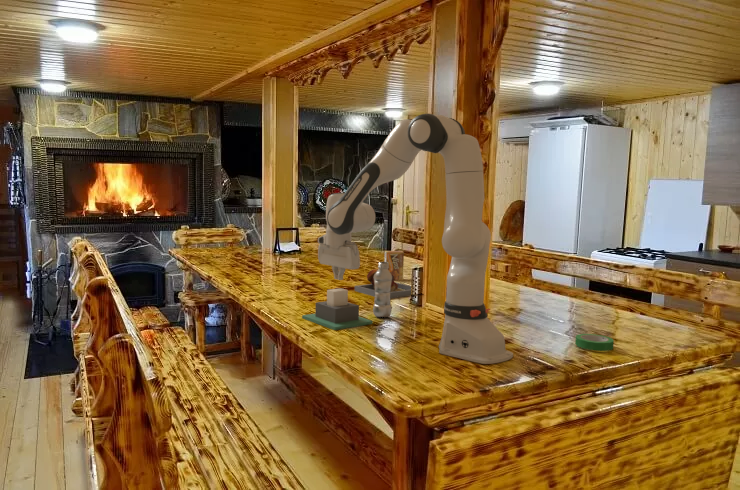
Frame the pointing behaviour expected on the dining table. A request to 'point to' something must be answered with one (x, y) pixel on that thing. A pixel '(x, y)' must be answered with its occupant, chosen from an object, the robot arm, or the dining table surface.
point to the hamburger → (371, 279)
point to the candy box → (395, 263)
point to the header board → (339, 325)
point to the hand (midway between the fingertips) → (338, 279)
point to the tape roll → (594, 342)
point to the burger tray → (406, 292)
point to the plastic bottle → (382, 290)
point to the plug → (337, 297)
